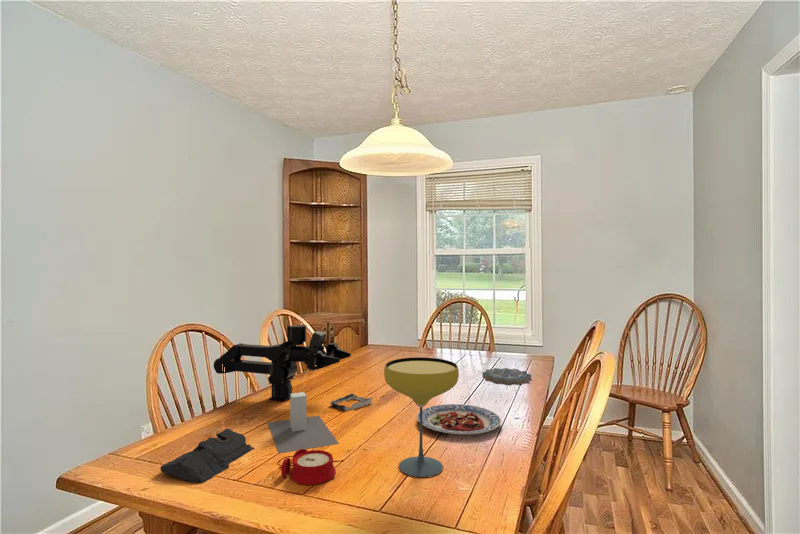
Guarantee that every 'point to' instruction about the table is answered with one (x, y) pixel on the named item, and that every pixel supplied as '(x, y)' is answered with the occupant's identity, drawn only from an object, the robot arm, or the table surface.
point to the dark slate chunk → (208, 457)
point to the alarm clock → (309, 467)
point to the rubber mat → (301, 435)
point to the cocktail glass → (421, 398)
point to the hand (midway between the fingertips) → (345, 357)
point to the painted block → (298, 411)
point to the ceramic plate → (459, 419)
